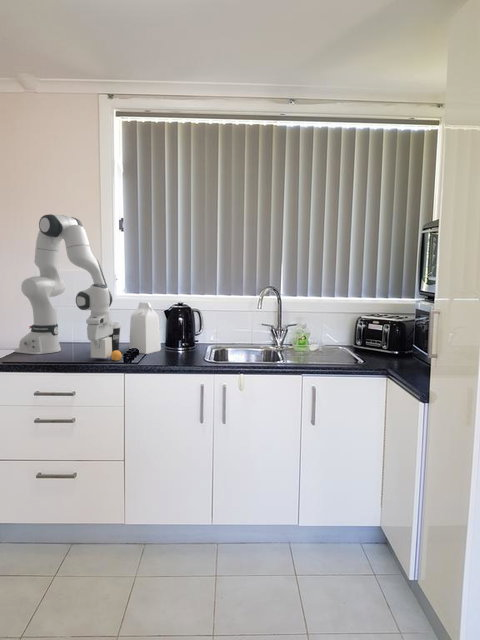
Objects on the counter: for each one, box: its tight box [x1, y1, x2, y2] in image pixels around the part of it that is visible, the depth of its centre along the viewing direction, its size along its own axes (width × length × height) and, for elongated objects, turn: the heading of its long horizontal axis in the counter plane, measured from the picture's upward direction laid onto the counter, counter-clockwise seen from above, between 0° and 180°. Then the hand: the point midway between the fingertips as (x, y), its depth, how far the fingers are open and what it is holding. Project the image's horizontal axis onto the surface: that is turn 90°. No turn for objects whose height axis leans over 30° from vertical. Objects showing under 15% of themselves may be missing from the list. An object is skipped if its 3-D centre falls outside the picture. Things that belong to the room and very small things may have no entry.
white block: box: [90, 337, 112, 359], centre depth 220 cm, size 7×7×9 cm
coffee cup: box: [109, 321, 122, 352], centre depth 240 cm, size 10×10×15 cm
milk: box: [128, 301, 162, 355], centre depth 243 cm, size 12×12×26 cm
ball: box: [110, 350, 122, 362], centre depth 219 cm, size 5×5×5 cm
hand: (101, 346), depth 219 cm, fingers closed on white block, 7 cm apart
